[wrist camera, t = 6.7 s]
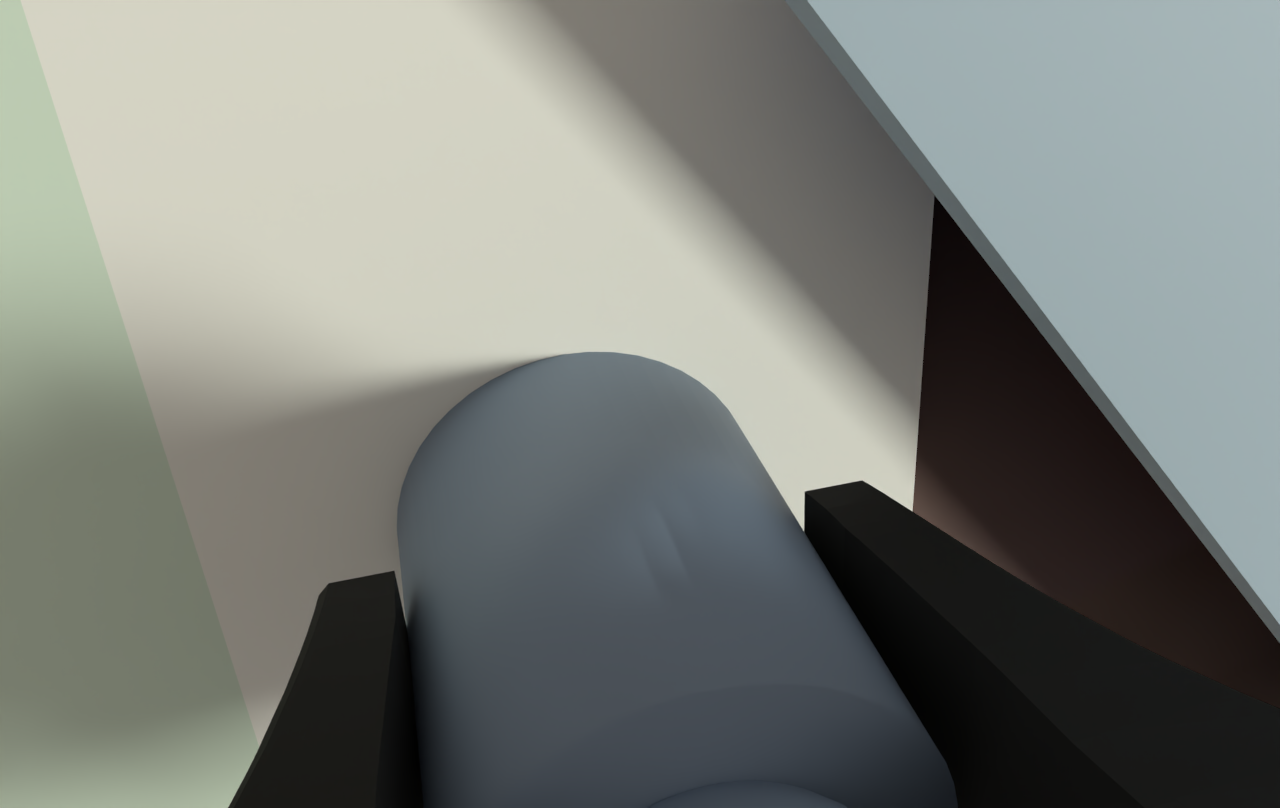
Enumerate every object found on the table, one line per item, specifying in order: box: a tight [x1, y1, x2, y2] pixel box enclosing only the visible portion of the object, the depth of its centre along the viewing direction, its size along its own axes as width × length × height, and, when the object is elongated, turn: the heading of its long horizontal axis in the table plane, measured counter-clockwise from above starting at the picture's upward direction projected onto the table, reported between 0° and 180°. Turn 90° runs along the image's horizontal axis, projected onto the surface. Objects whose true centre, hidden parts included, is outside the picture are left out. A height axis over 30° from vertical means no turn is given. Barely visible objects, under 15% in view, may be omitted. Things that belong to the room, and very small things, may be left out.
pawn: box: [397, 352, 958, 808], centre depth 10 cm, size 4×4×8 cm
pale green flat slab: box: [0, 0, 934, 808], centre depth 12 cm, size 16×14×1 cm
